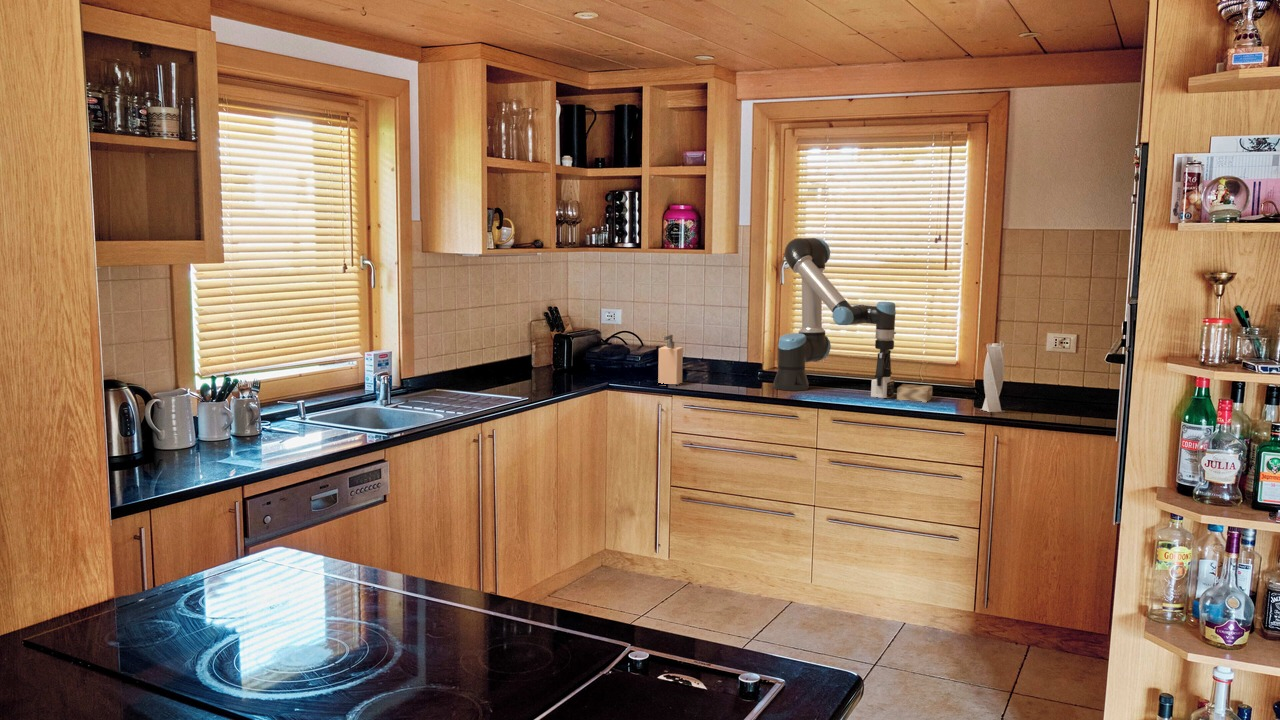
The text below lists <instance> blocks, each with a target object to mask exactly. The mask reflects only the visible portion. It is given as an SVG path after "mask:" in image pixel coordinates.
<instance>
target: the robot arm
mask: <svg viewBox="0 0 1280 720" xmlns="http://www.w3.org/2000/svg"><path fill="white" fill-rule="evenodd" d="M830 257H831V251H830V246H829V245H828V243H827V242H826V241H825V240H823V239H822V238H817V237H816V238H815V237H812V238H810V237H808V238H801V237H799V238H794V239H791V240H790V241H789V242H788V243H787V244H786V247H785V248H784V259H785V261H786V263H787V265H788V266H789V267H790V269H791V270H792V271H793V272H794V273H796V274H799V276H800V277H801V319H802V320H801V329H799V330H798V332H797V333H796V332H795V333H794V332H792V333H786V334H783V335H781V336H780V337H779V339H778V345H777V348H778V349H777V351H778V353H777V355H778V357H777V372H776V375H775V378H774V380H773V384H772V386H773V388H774V390H775V389H776V390H781V391H789V392H790V391H794V392H795V391H796V392H798V391H805V390H806V391H807V390H809V384H810V383H809V381H808V377H807V374H806V363H812V362H816V363H817V362H819V361H822V360H824V359H826V358H827V357H828V356H829V354H830V351H831V341H830V339H829V337H828V336H827V335H826V330H825V329H824V328H823V322H822V321H823V319H822V318H823V317H822V316H823V315H822V312H823V310H822V309H823V308H822V307H823V306H822V305H823V303H824V305H826V307H827V308H828V309H829V311H830V312H832V316H831V317H832V319H833V321H834V324H837V325H838V326H851V325H861V324H869V325H870V324H871V325H875V341H874V342H875V343H874V348H875V349H877V350H879V353H877V360H876V368H875V375H874V379H876V394H883V373H884V368H888V369H890V370H891V375H892V373H893V372H892V364H891V363H892V362H891V360H892V359H891V358H892V357H891V353H892V352H891V351H892V350H893V349H895V340H894V339H895V335H896V334H897V332H896V331H895V325H896V323H895V322H896V314H897V312H896V303H895V302H893V301H878V302H877V304H876V305H867V304H866V305H865V304H854V305H851V304H850V302H848V301H847V300H846V298H844V296H843V295H842V294H841V293H840V292H839V291H838V289H837V288H836V287H835V286H834V285H833V284H832V283H831V281H830V280H829V279H828V277H826V275H825V274H824V273H823V272H824V271H825V270H826V264H827V263H828V261H829V260H830ZM822 302H823V303H822Z"/></svg>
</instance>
